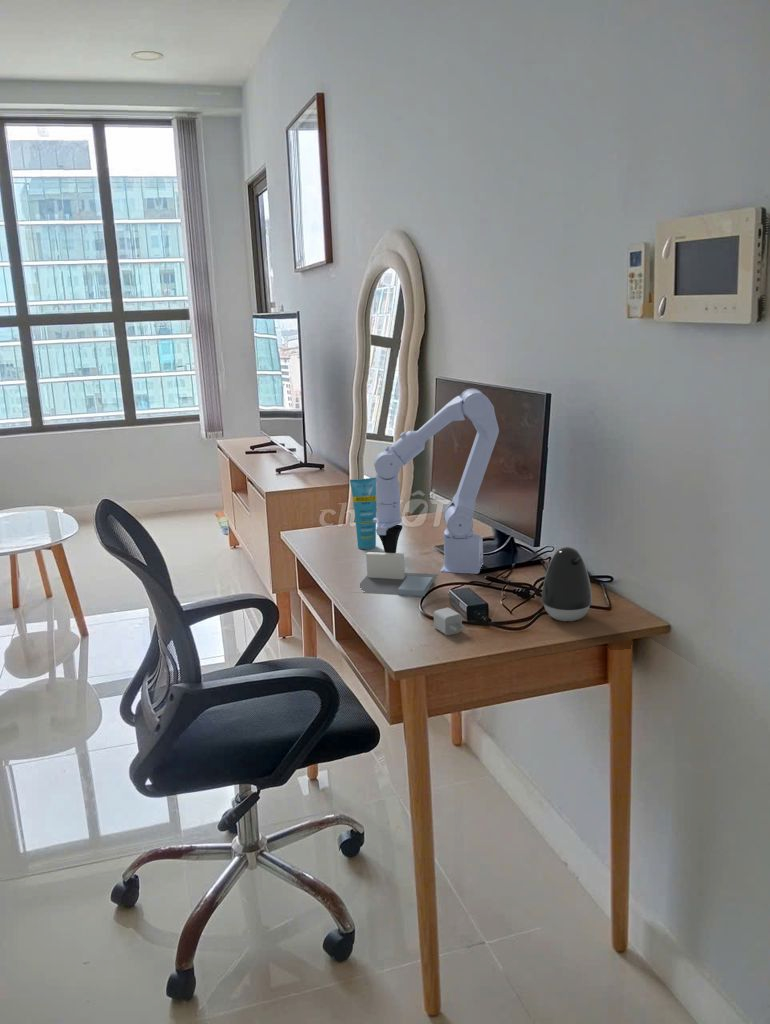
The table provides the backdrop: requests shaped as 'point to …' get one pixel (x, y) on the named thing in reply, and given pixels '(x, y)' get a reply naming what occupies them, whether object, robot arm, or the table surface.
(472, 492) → the robot arm
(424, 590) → the slate board
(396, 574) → the cream board
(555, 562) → the grey egg shaped device
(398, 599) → the table surface
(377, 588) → the mat
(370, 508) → the tube
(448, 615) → the usb wall charger
